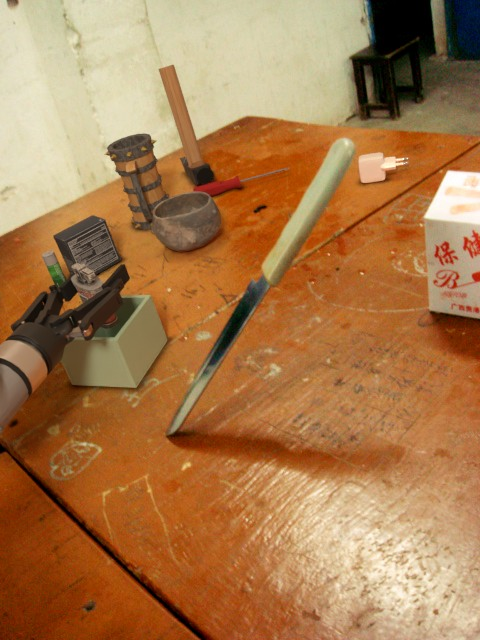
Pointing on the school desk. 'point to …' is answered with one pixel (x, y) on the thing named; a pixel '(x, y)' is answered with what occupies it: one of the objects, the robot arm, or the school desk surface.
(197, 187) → the screwdriver
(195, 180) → the hammer
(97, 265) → the small box
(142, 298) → the trash bin
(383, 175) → the power adapter
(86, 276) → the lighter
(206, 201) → the bowl
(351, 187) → the school desk surface
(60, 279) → the battery
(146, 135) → the mug
